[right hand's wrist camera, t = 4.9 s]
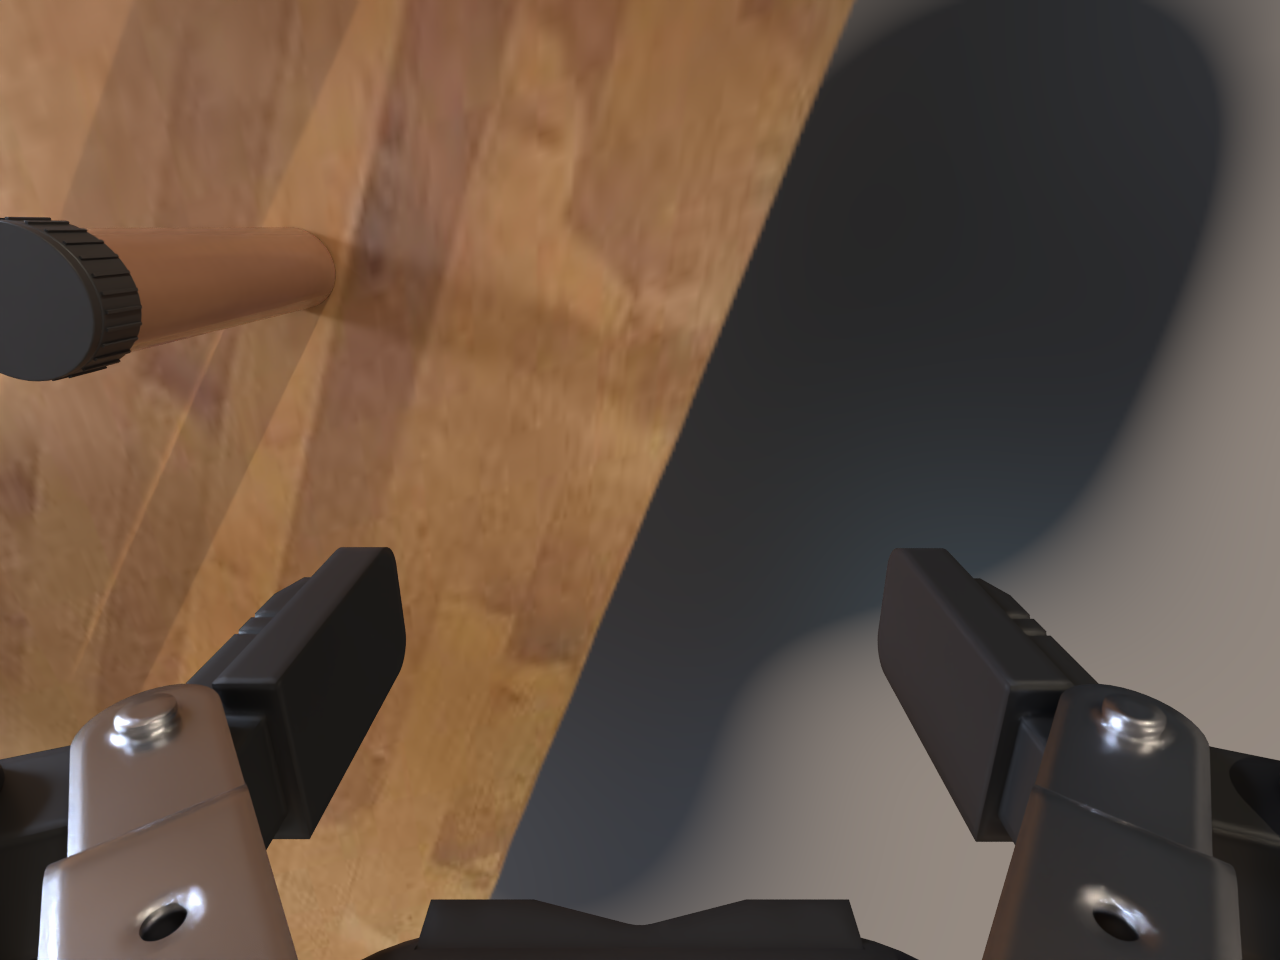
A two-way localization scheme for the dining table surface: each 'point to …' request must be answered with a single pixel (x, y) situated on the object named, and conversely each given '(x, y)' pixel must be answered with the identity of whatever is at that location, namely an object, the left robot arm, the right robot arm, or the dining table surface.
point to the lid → (62, 301)
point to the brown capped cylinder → (218, 276)
